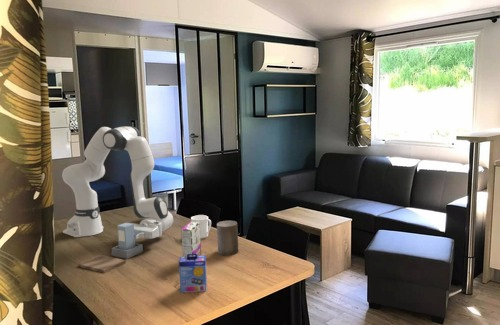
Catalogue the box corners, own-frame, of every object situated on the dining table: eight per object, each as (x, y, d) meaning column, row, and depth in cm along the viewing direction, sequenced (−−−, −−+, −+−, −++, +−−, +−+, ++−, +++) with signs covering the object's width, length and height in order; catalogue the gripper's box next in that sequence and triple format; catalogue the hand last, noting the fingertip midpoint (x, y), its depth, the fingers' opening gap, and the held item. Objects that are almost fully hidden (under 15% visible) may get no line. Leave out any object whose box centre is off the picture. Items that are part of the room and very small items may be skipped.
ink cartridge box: (179, 293, 150) (177, 255, 148) (181, 286, 155) (179, 250, 153) (206, 291, 150) (205, 254, 148) (207, 285, 156) (205, 248, 154)
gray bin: (112, 255, 190) (111, 248, 189) (128, 248, 199) (127, 241, 198) (127, 258, 185) (126, 251, 185) (142, 251, 194) (142, 244, 194)
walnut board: (78, 266, 178) (78, 263, 177) (100, 257, 188) (100, 254, 188) (104, 273, 170) (104, 270, 170) (125, 262, 180) (125, 260, 180)
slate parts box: (119, 254, 191) (116, 225, 189) (128, 250, 196) (126, 222, 194) (126, 256, 188) (124, 227, 186) (135, 252, 193) (133, 223, 191)
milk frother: (164, 215, 258) (163, 192, 256) (178, 220, 246) (176, 196, 244) (144, 220, 248) (142, 196, 246) (157, 225, 237) (155, 200, 235)
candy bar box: (191, 256, 186) (189, 221, 184) (201, 257, 185) (200, 222, 183) (182, 266, 175) (180, 229, 173) (193, 266, 174) (191, 229, 172)
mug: (188, 238, 212) (187, 219, 210) (197, 233, 220) (196, 214, 218) (207, 240, 208) (206, 220, 206) (215, 235, 216) (214, 216, 214)
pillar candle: (242, 251, 191) (241, 220, 189) (227, 257, 184) (226, 224, 182) (228, 246, 198) (227, 216, 196) (213, 252, 191) (212, 221, 189)
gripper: (132, 219, 208) (111, 226, 196) (163, 223, 198) (143, 231, 186) (133, 230, 209) (112, 239, 197) (164, 236, 199) (144, 245, 187)
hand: (127, 235), depth 192 cm, fingers open, 8 cm apart
